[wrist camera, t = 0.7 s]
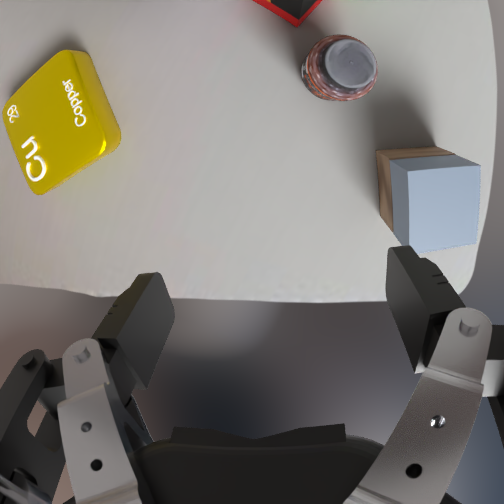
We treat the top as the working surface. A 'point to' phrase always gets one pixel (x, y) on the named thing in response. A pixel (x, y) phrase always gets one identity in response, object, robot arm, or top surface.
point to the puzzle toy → (290, 9)
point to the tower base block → (385, 174)
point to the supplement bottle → (339, 68)
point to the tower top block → (435, 202)
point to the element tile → (60, 121)
